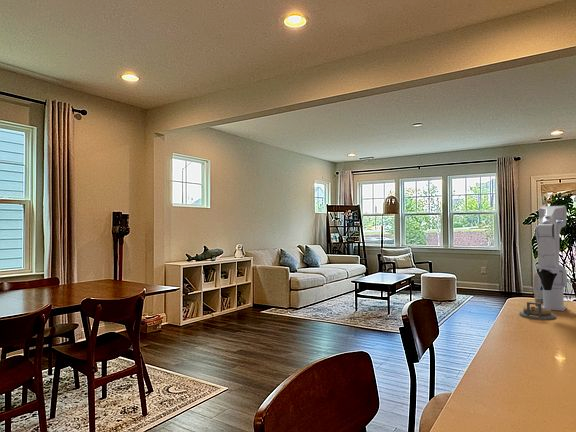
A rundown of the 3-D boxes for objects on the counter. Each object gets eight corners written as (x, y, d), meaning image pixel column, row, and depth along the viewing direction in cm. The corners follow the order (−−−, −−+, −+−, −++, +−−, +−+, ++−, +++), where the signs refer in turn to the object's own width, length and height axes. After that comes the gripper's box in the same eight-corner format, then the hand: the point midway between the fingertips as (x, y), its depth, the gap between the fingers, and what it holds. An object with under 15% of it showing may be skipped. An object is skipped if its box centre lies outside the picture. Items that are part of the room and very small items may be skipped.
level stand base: (523, 311, 166) (522, 296, 167) (558, 315, 159) (557, 300, 159) (516, 316, 157) (515, 301, 157) (552, 321, 149) (552, 304, 150)
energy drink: (550, 302, 185) (550, 275, 185) (538, 302, 185) (538, 275, 185) (543, 299, 190) (542, 274, 190) (532, 300, 190) (531, 274, 191)
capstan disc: (518, 311, 160) (517, 298, 160) (533, 309, 164) (533, 297, 164) (540, 316, 152) (540, 302, 152) (556, 313, 156) (556, 300, 156)
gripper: (567, 256, 150) (568, 293, 150) (548, 253, 165) (549, 287, 164) (546, 256, 151) (547, 293, 151) (529, 253, 166) (530, 287, 165)
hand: (547, 290), depth 158 cm, fingers closed
